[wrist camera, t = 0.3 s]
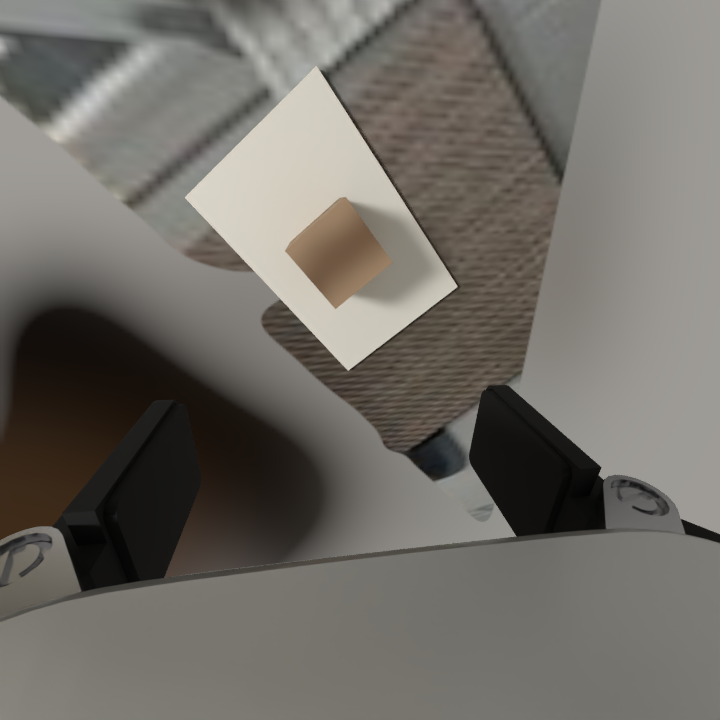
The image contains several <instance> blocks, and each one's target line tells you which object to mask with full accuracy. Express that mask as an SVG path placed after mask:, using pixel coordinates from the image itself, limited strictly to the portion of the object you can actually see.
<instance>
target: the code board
mask: <svg viewBox="0 0 720 720" xmlns="http://www.w3.org/2000/svg"><path fill="white" fill-rule="evenodd" d="M342 197H346V198H347V199H348V201H349V202H350V203H351V205H352V206H353V208H354V209H355V210H356V212H357V213H358V215H359V216H360V217H361V219H362V220H363V222H364V223H365V224H366V226H367V227H368V229H369V230H370V231H371V233H372V234H373V235H374V237H375V238H376V240H377V241H378V242H379V244H380V245H381V247H382V248H383V249H384V251H385V252H386V254H387V255H388V256H389V258H390V259H391V261H392V262H393V263H392V264H390V265H389V266H388V267H387V268H385V269H384V270H383V271H382V272H381V273H379V274H378V275H377V276H376V277H374V278H373V279H372V280H371V281H370V282H368V283H367V284H366V285H365V286H363V287H362V288H361V289H360V290H358V291H357V292H356V293H355V294H354V295H352V296H351V297H350V298H349V299H347V300H346V301H345V302H344V303H343V304H341V305H340V306H339V307H338V308H336V309H335V308H334V307H333V306H332V305H331V304H330V302H329V301H328V300H327V299H326V298H325V297H324V295H323V294H322V293H321V292H320V291H319V290H318V289H317V287H316V286H315V285H314V284H313V283H312V282H311V280H310V279H309V278H308V277H307V276H306V275H305V274H304V272H303V271H302V270H301V269H300V268H299V267H298V265H297V264H296V263H295V262H294V261H293V260H292V259H291V257H290V256H289V255H288V254H287V253H286V252H285V250H286V248H287V246H288V245H289V243H290V242H291V241H292V240H293V239H294V238H295V237H296V236H297V235H298V234H300V233H301V232H302V231H303V230H304V229H305V228H306V227H307V226H309V225H310V224H311V223H312V222H313V221H314V220H315V219H316V218H318V217H319V216H320V215H321V214H322V213H323V212H324V211H325V210H327V209H328V208H329V207H330V206H331V205H332V204H333V203H334V202H336V201H337V200H338V199H339V198H342ZM185 198H186V199H187V200H188V201H189V202H190V203H191V205H192V206H193V207H194V208H195V209H196V210H197V211H198V212H199V213H200V214H201V215H202V216H203V217H204V218H205V219H206V220H207V222H208V223H209V224H210V225H211V226H212V227H213V228H214V229H215V230H216V231H217V232H218V233H219V234H220V235H221V236H222V237H223V238H224V240H225V241H226V242H227V243H228V244H229V245H230V246H231V247H232V248H233V249H234V250H235V251H236V252H237V253H238V254H239V255H240V257H241V258H242V259H243V260H244V261H245V262H246V263H247V264H248V265H249V266H250V267H251V268H252V269H253V270H254V271H255V272H256V273H257V275H258V276H259V277H260V278H261V279H262V280H263V281H264V282H265V283H266V284H267V285H268V286H269V287H270V288H271V289H272V290H273V291H274V292H275V293H276V295H277V296H278V297H279V298H280V299H281V300H282V301H283V302H284V303H285V304H286V305H287V306H288V307H289V308H290V310H291V311H292V312H293V313H294V314H295V315H296V316H297V317H298V318H299V319H300V320H301V321H302V322H303V323H304V324H305V325H306V326H307V328H308V329H309V330H310V331H311V332H312V333H313V334H314V335H315V336H316V337H317V338H318V339H319V340H320V341H321V342H322V343H323V345H324V346H325V347H326V348H327V349H328V350H329V351H330V352H331V353H332V354H333V355H334V356H335V357H336V358H337V359H338V360H339V361H340V363H341V364H342V365H343V366H344V367H345V368H346V369H347V370H350V369H351V368H352V367H354V366H355V365H356V364H358V363H359V362H360V361H361V360H363V359H364V358H365V357H367V356H368V355H369V354H371V353H372V352H373V351H375V350H376V349H377V348H378V347H380V346H381V345H382V344H384V343H385V342H386V341H388V340H389V339H390V338H392V337H393V336H394V335H395V334H397V333H398V332H399V331H401V330H402V329H403V328H405V327H406V326H407V325H409V324H410V323H411V322H412V321H414V320H415V319H416V318H418V317H419V316H420V315H422V314H423V313H424V312H425V311H427V310H428V309H429V308H431V307H432V306H433V305H435V304H436V303H437V302H439V301H440V300H441V299H442V298H444V297H445V296H446V295H448V294H449V293H450V292H452V291H453V290H454V289H456V288H457V287H458V286H457V285H456V283H455V282H454V280H453V279H452V277H451V275H450V274H449V272H448V271H447V269H446V268H445V266H444V264H443V263H442V261H441V260H440V258H439V257H438V255H437V253H436V252H435V250H434V249H433V247H432V246H431V244H430V243H429V241H428V239H427V238H426V236H425V235H424V233H423V232H422V230H421V228H420V227H419V225H418V224H417V222H416V221H415V219H414V217H413V216H412V214H411V213H410V211H409V210H408V208H407V207H406V205H405V203H404V202H403V200H402V199H401V197H400V196H399V194H398V192H397V191H396V189H395V188H394V186H393V185H392V183H391V182H390V180H389V178H388V177H387V175H386V174H385V172H384V171H383V169H382V167H381V166H380V164H379V163H378V161H377V160H376V158H375V156H374V155H373V153H372V152H371V150H370V149H369V147H368V146H367V144H366V142H365V141H364V139H363V138H362V136H361V135H360V133H359V131H358V130H357V128H356V127H355V125H354V124H353V122H352V120H351V119H350V117H349V116H348V114H347V113H346V111H345V110H344V108H343V106H342V105H341V103H340V102H339V100H338V99H337V97H336V95H335V94H334V92H333V91H332V89H331V88H330V86H329V84H328V83H327V81H326V80H325V78H324V77H323V75H322V74H321V72H320V70H319V69H318V67H317V66H316V67H315V68H314V69H313V70H312V71H311V72H310V73H309V74H308V75H307V76H306V77H305V78H304V79H303V80H302V81H301V82H300V83H299V84H298V85H297V86H296V87H295V88H294V89H293V90H292V91H291V92H290V93H289V94H288V95H287V96H286V97H285V98H284V99H283V100H282V101H281V102H280V103H279V104H278V105H277V106H276V107H275V108H274V109H273V110H272V111H271V112H270V113H269V114H268V115H267V116H266V117H265V118H264V119H263V120H262V121H261V122H260V123H259V124H258V125H257V126H256V127H255V128H254V129H253V130H252V131H251V132H250V133H249V134H248V135H247V136H246V137H245V138H244V139H243V140H242V141H241V142H240V143H239V144H238V145H237V146H236V147H235V148H234V149H233V150H232V151H231V152H230V153H229V154H228V155H227V156H226V157H225V158H224V159H223V160H222V161H221V162H220V163H219V164H218V165H217V166H216V167H215V168H214V169H213V170H212V171H211V172H210V173H209V174H208V175H207V176H206V177H205V178H204V179H203V180H202V181H201V182H200V183H199V184H198V185H197V186H196V187H195V188H194V189H193V190H192V191H191V192H190V193H189V194H188V195H187V196H186V197H185Z"/></svg>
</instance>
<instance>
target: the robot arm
mask: <svg viewBox="0 0 720 720" xmlns="http://www.w3.org/2000/svg"><path fill="white" fill-rule="evenodd" d="M469 460H470V463H471V466H472V467H473V469H474V470H475V472H476V474H477V475H478V477H479V478H480V480H481V481H482V483H483V484H484V486H485V488H486V489H487V491H488V492H489V494H490V495H491V497H492V499H493V500H494V502H495V503H496V505H497V506H498V508H499V510H500V511H501V513H502V514H503V516H504V517H505V519H506V520H507V522H508V524H509V525H510V527H511V528H512V530H513V531H514V533H515V535H516V536H517V537H509V538H500V539H492V540H482V541H472V542H463V543H453V544H445V545H435V546H427V547H417V548H408V549H400V550H391V551H383V552H373V553H365V554H356V555H347V556H338V557H329V558H321V559H312V560H305V561H296V562H288V563H279V564H270V565H262V566H254V567H245V568H238V569H229V570H221V571H212V572H205V573H197V574H190V575H182V576H175V577H168V578H164V576H165V574H166V571H167V569H168V566H169V564H170V561H171V559H172V556H173V553H174V551H175V549H176V546H177V543H178V541H179V538H180V536H181V533H182V531H183V528H184V526H185V523H186V521H187V518H188V516H189V513H190V511H191V508H192V506H193V503H194V501H195V498H196V496H197V493H198V490H199V488H200V484H201V472H200V468H199V464H198V458H197V454H196V449H195V445H194V441H193V435H192V431H191V427H190V422H189V417H188V413H187V408H186V406H185V405H184V404H181V405H180V403H179V402H178V401H177V400H163V401H155V402H153V403H152V404H151V406H150V407H149V408H148V409H147V410H146V412H145V413H144V414H143V415H142V417H141V418H140V419H139V420H138V422H137V423H136V424H135V425H134V426H133V428H132V429H131V430H130V431H129V432H128V434H127V435H126V436H125V437H124V439H123V440H122V441H121V442H120V443H119V445H118V446H117V447H116V448H115V450H114V451H113V452H112V453H111V454H110V456H109V457H108V458H107V459H106V461H105V462H104V463H103V464H102V465H101V467H100V468H99V469H98V470H97V472H96V473H95V474H94V475H93V476H92V478H91V479H90V480H89V481H88V483H87V484H86V485H85V486H84V488H83V489H82V490H81V491H80V492H79V494H78V495H77V496H76V497H75V498H74V500H73V501H72V502H71V503H70V505H69V506H68V507H67V508H66V509H65V511H64V512H63V513H62V516H61V517H60V518H59V519H58V521H57V522H56V523H55V524H54V525H53V527H35V528H31V529H27V530H23V531H20V532H18V533H15V534H13V535H10V536H8V537H6V538H4V539H2V540H0V720H720V534H717V533H715V532H713V531H710V530H707V529H705V528H702V527H700V526H697V525H695V524H692V523H690V522H687V521H685V520H682V519H680V516H679V512H678V509H677V508H676V506H675V504H674V503H673V502H672V501H671V499H669V497H668V496H667V495H665V494H664V493H662V492H661V491H660V490H658V489H657V488H655V487H653V486H651V485H650V484H648V483H646V482H643V481H641V480H638V479H636V478H632V477H628V476H623V475H613V476H608V477H607V478H606V479H604V480H603V479H602V478H601V477H600V476H599V475H598V474H599V472H600V470H601V467H600V466H599V465H598V464H597V463H596V462H595V461H593V460H592V459H591V458H590V457H589V456H588V455H586V454H585V453H584V452H583V451H582V450H581V449H580V448H579V447H577V446H576V445H575V444H574V443H573V442H572V441H571V440H570V439H568V438H567V437H566V436H565V435H564V434H563V433H562V432H560V431H559V430H558V429H557V428H556V427H555V426H554V425H552V424H551V423H550V422H549V421H548V420H547V419H545V418H544V417H543V416H542V415H541V414H540V413H538V411H536V410H535V409H534V408H533V407H532V406H531V405H529V404H528V403H527V402H526V401H525V400H524V399H523V398H522V397H520V396H519V395H518V394H517V393H516V392H515V391H514V390H512V389H511V388H510V387H509V386H507V385H495V386H488V387H487V389H486V390H484V391H483V392H482V394H481V399H480V404H479V409H478V414H477V419H476V424H475V428H474V433H473V438H472V443H471V448H470V453H469Z"/></svg>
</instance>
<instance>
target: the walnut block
mask: <svg viewBox="0 0 720 720" xmlns="http://www.w3.org/2000/svg"><path fill="white" fill-rule="evenodd" d="M285 252H286V253H287V254H288V255H289V256H290V257H291V259H292V260H293V261H294V262H295V263H296V264H297V265H298V267H299V268H300V269H301V270H302V271H303V272H304V274H305V275H306V276H307V277H308V278H309V279H310V280H311V282H312V283H313V284H314V285H315V286H316V287H317V289H318V290H319V291H320V292H321V293H322V294H323V295H324V297H325V298H326V299H327V300H328V301H329V302H330V304H331V305H332V306H333V307H334V308H335V309H336V308H338V307H339V306H340V305H341V304H343V303H344V302H345V301H346V300H347V299H349V298H350V297H351V296H352V295H354V294H355V293H356V292H357V291H358V290H360V289H361V288H362V287H363V286H365V285H366V284H367V283H368V282H370V281H371V280H372V279H373V278H374V277H376V276H377V275H378V274H379V273H381V272H382V271H383V270H384V269H385V268H387V267H388V266H389V265H390V264H392V263H393V262H392V261H391V259H390V258H389V256H388V255H387V254H386V252H385V251H384V249H383V248H382V247H381V245H380V244H379V242H378V241H377V240H376V238H375V237H374V235H373V234H372V233H371V231H370V230H369V229H368V227H367V226H366V224H365V223H364V222H363V220H362V219H361V217H360V216H359V215H358V213H357V212H356V210H355V209H354V208H353V206H352V205H351V203H350V202H349V201H348V199H347V198H346V197H342V198H339V199H338V200H337V201H336V202H334V203H333V204H332V205H331V206H330V207H329V208H328V209H327V210H325V211H324V212H323V213H322V214H321V215H320V216H319V217H318V218H316V219H315V220H314V221H313V222H312V223H311V224H310V225H309V226H307V227H306V228H305V229H304V230H303V231H302V232H301V233H300V234H298V235H297V236H296V237H295V238H294V239H293V240H292V241H291V242H290V243H289V245H288V246H287V248H286V250H285Z"/></svg>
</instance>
